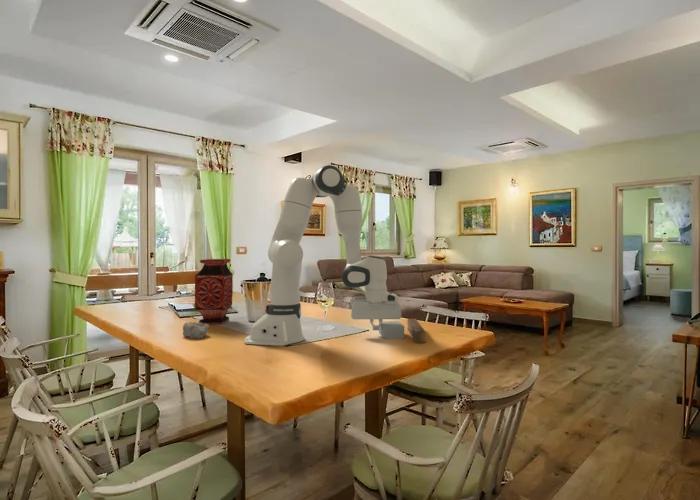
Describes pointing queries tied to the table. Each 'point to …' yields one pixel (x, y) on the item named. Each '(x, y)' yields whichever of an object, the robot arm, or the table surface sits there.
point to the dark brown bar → (416, 331)
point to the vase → (214, 291)
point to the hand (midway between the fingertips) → (376, 330)
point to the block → (391, 330)
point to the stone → (195, 329)
